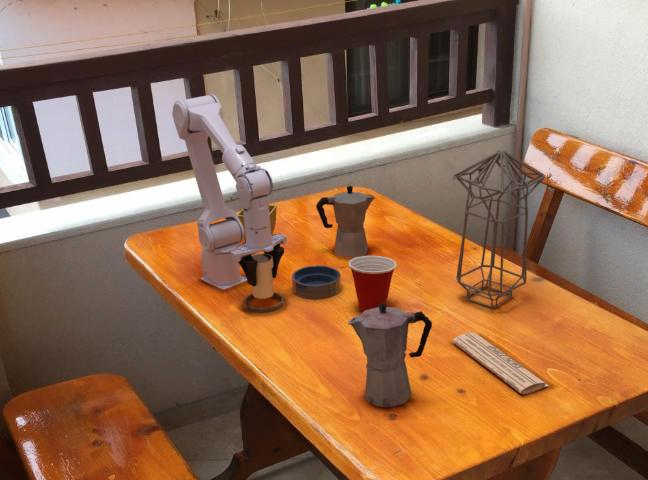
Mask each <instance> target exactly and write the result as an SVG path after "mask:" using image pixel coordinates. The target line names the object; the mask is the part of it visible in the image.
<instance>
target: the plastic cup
mask: <svg viewBox="0 0 648 480" xmlns="http://www.w3.org/2000/svg"><path fill="white" fill-rule="evenodd" d="M348 266H349V268H350V270H351V274H352V278H353V283H354V290H355V295H356V298H357V302H358V308H359V310H360V312H361V313H363V312H364V311H365V310H369V309H374V308H377V307H378V305H379V304H381V303H385V304H386V305H387V302H388V298H389V295H390V294H389V292H390V287H391V282H392V277H393V275H394V271H395V269H396V267H397V262H396V261H395V260H394V259H392V258H390V257H386V256H381V255H365V256H361V257H355V258H354V257H353V258H351V259H349V261H348Z"/></svg>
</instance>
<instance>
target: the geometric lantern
mask: <svg viewBox="0 0 648 480" xmlns="http://www.w3.org/2000/svg"><path fill="white" fill-rule="evenodd" d="M495 165H497V166H498V167H499V169H500V188H494V187H487V186H486V185H485V184H486V182H487V181H488V179H489V177H490V174H491V173H492V171H493V169H494V167H495ZM519 165H521V166H522V167H524V168H526V169H528V170H529V171H524V170H523V169H522V168H521V167H520V166H519ZM476 172H478V174H477V175H476V176H475V178H474V179H473V180H472V175H474V174H475V173H476ZM504 174H505V175H506V179H507V185H506V187H505V181H504ZM468 175H469V179H468V178H465V177H463V176H468ZM527 175H529V176H530V175H531V176H532V175H533V176H535V177H534V178H532V179H530V180H528V181H527V180H526V179H527ZM517 176H518V177H519V178H520V180H521V181H522V183H520V182H519V181H517V179H516V177H517ZM480 177H481V178H480ZM545 179H546V175H545V174H544V173H543V172H541V171H539V169H536V168H534V167H532V166H531V165H529V164H527V163H525V162H524V161H522V160H521V159H519V158H517V157H515V156H514V155H513V154H511V153H509V152H507V151H505V150H496V152H494V153H492V154H490V155H488V156H487V157H485V158H483V159H481V160H479V161H478V162H475V163H474V164H471V165H470V166H468V167H466V168H464V169H463V170H461V171H459V172H456V173H455V174H453V175H452V180H453V181H455V180H457V181H458V182H459V183H460V184H461V185H462V187H464V188H465V190H466V191H467V194H466V202H465V207H464V219H463V220H464V221H463V231H462V235H461V236H462V237H461V244H460V250H459V258H458V263H457V269H456V270H457V271H456V278H455V279H456V282H457V283H458V285H460V286H461V287H462V288H463V289H464V290H465V291H466V296H465V299H466V300H467V301H468V302H472V303H475V304H478V305H482V306H485V307H488V308H490V309H492V308H497V307H499V306H500V305H501V304H503V303H505V302H507V301H508V300H509V299H511V298H512V297H513V291H514V290H516V289H518V288H519V287H521V286H524V285H526V284H527V273H528V272H527V271H528V270H527V268H528V267H527V266H528V221H529V206H528V197H529V195H530V194H531V193H532V192H533V191H534V190H535V189H536V188H537V187H538V186H539V185H540V184H541V183H542V182H543V181H544V180H545ZM464 182H465V183H464ZM466 183H467V184H468V186H467V185H466ZM480 184H481V185H480ZM512 184H514V186H515V187H513V188H511V185H512ZM472 186H475V187H477V188H478V192H479V195H475V193H474V192H473V187H472ZM531 186H532V187H531ZM530 187H531V188H530ZM525 189H526V191H525ZM482 190H484V191H486V193H487V194H488V195H485V196H482V195H483V194H482ZM507 190H509V191H507ZM521 190H522V194H523V196H521V197H520V191H521ZM490 191H491V192H493V193H490ZM514 191H516V192H517V194H516V193H515V192H514ZM504 194H511V196H512V197H513V198H514V199H515V200H514V202H513V203H512V202H509V201H505V200H502V199H501V198H502V197H503V195H504ZM497 195H498V197H497V198H494V197H495V196H497ZM470 199H471V201H470ZM474 199H477V200H480V201H479V202H477V203H474V204H473V202H474ZM522 200H524V206H523V205H522V206H521V205H520V204H519V205H518V204H516V203H517V202H518V203H519V202H520V201H522ZM469 201H470V203H469ZM488 201H489V202H488ZM487 202H488V203H487ZM493 202H497V203H496V212H495V217H494V215H493V213H492V204H493ZM500 203H503V204H507V205H509V206H510V207H509V209H508V210H507V212H506V213H505V215H504V216H503V217H502V219H501V220H499V215H500V214H499V213H500ZM481 204H483V205H484V207H485V209H486V210H487V217H484V216H481V215H478V214H475V213H472V212H469V210H470V209H471V208H474V207H476V206H479V205H481ZM513 207H517V208H520V209H523V210H524V212H522V213H520V214H517V215H514V216H513V217H511V218H510V217H509V218H508V219H506V217H507V216H508V215H509V213H510V212H511V210H512V209H513ZM469 216H474V217H476V218H479V219H482V220H485V221H486V224H485V225H486V226H485V234H484V241H483V249H482V256H481V262H480V265H479V266H477V267H475V268H472V269H471V270H468V271H466V272H464V273H462V272H463V271H462V270H463V262H464V261H463V260H464V252H465V251H464V250H465V242H466V241H465V240H466V233H467V224H468V219H469ZM522 216H524V235H523V236H524V237H523V249H522V264H521V265H522V266H521V275H520V274H518V273H515V272H513V271H510V270H507V269H504V249H505V248H504V246H505V223H507V222H509V221H512V220H515V219H517V218H519V217H522ZM490 222H491V223H493V227H492V238H491V239H492V240H491V250H490V251H491V252H490V264H484V262H485V255H486V249H487V242H488V241H487V240H488V234H489V228H490V227H489V225H490ZM499 224H501V241H500V242H501V243H500V267H499V266H496V265H495V263H496V262H495V261H496V251H497V249H496V248H497V238H498V227H499V226H498V225H499ZM483 268H489V271H488V275H487V277H486V278H485V275H484V269H483ZM493 269H496V270H499V271H500V272H499V274H500V275H499V282H497V281H493V280H492V278H493ZM478 270H480V272H481V277H482V280H480V281H478V282H477V283H475V284H473V285H470V284H467V283H464V282H463V281H461V280H462V278H463V277H465V276H467V275H469V274H471V273H473V272H476V271H478ZM503 272H504V273H506V274H510V275H512V276H515V277H518V279H517V280H516V281H515V282H514V283H513V284H512V285H511V286H510V285H507V284H503V280H504V279H503V275H504V273H503ZM521 280H522V281H523V282H521V283H519V282H520V281H521ZM484 282H486V283H484ZM479 284H481V287H480V288H477V287H476V286H478V285H479ZM485 284H486V285H485ZM492 284H495V285H498V286H499V289H496V288H493V287H492ZM484 285H485V286H484ZM503 287H506V288H508V289H506V290H503ZM484 289H487V292H486V291H484ZM472 290H473V291H472ZM491 291H495V292H496V293H491ZM480 293H481V294H480ZM473 295H475V296H478V297H481V298H484V299H487V300H490V304H487V303H484V302H480V301H477V300H473V299H471V298H470V297H471V296H473ZM505 295H507V296H508V297H507V298H505V299H503V300H502V301H500V302H499V303H498V301H499V299H500V298H503V297H504V296H505ZM493 297H496V298H493ZM494 301H495V304H494V303H493V302H494Z"/></svg>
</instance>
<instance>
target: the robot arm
mask: <svg viewBox="0 0 648 480" xmlns="http://www.w3.org/2000/svg"><path fill="white" fill-rule="evenodd" d="M171 112H172V113H171V115H172V120H173V123H174V126H175V130H176V133H177V136H178V138H179V139H180V140H183V141H184V143H185V147H186V150H187V153H188V157H189V160H190V163H191V167H192V170H193V174H194V178H195V181H196V184H197V188H198V192H199V195H200V199H201V203H202V205H203V209H204V211H203V212H202V214H201V215H200V217H199V218H198V220H197V221H196V225H197V230H198V231H197V232H198V240H199V243H200V246H201V247H202V250H201V253H200V258H201V266H202V275H203V276H202V277H200V280H201V281H203V282H205V283H207V284H209V285H211V286H214V287H216V288H218V289H220V290H223V291H224V290H227V289H230V288H232V287H235V286H237V285H240V284H243V283H246V282H247V285H249V286H251V287H252V286H256V268H257V263H258V261H257V260H255V259H253V257H252V255H255V254H260V253H263V254H269V255H271V256H272V257H273V268H272V276H273V279H276V278H277V274H278V270H279V265H280V262H281V260H282V257H283V256H284V254H285V248H284V247H283V246H281V245H286V244H288V242H287V240H288V239H287V235H286V234H283V233H277V234H274V235H272V236H271V225H270V211H269V205H270V197H269V196H270V195H272V194H273V191H274V181H273V179H272V175H271V174H270V172H269V170H268V169H267V168H263V167H262V166H261V165H257V164H256V162H255V160H254V159H253V158H252V157H251V155H250V153H249V152H248V150H247V149H246V148H245V146H243V145H241V144H237V143H236V141H235V139H234V138H233V136H232V134H231V132H230V131H229V129H228V127H227V125H226V123H225V122H224V120H223V115H224V113H223V107H222V105H221V102H220V100H219V98H218V97H217V96H216V95H215V94H213V93H209V94H207V95H203V96H197V97H192V98H186V99H178V100H177V99H176V100H175V101H174V103H173V106H172V111H171ZM209 138H210V140H211V142H213V143H214V145H215V146H216V147H217V148H218V149H219V150H220V152H221V153H222V157H221V161H222V163H223V165H224V166H225V167H226V169H227V170H228V172H229V174H230V175H231V177H232V178H233V180H234V181H235V182H236V183H235V189H236V192H237V195H238V198H239V204H240V206H241V207H242V209H243V212H244V223H245V234H246V240H245V239H244V228H243V225H242V223H241V222H240V220H239V218H238V215H237V214H238V212H237V211H236V210H234V209H232V208H230V207H228V206H226V203H225V199H224V196H223V195H224V194H223V192H222V189H221V185H220V180H219V177H218V173H217V170H216V167H215V164H214V160H213V157H212V153H211V150H210V146H209V141H208V139H209ZM220 220H221V221H220ZM244 240H245V243H244V244H242V245H241V243H242V242H243V241H244ZM241 270H242V271H243V273H244V276H243V275H241Z"/></svg>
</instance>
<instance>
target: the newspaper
mask: <svg viewBox="0 0 648 480" xmlns="http://www.w3.org/2000/svg"><path fill="white" fill-rule="evenodd" d="M452 343H453V344H455V345H456V346H457V347H458V348H460V349H461V350H463V351H464V352H465V353H467V354H468V355H469V356H470V357H471V358H473V359H474V360H476V362H478V363H480V364H481V365H482V366H483V367H484V368H486V369H487V370H489V371H490V372H491V373H493V374H494V375H495V376H497V377H498V378H500V379H501V380H502V381H504V382H505V383H506V384H508V385H509V386H510V387H511V388H513V389H514V390H516V391H517V392H518V393H520V395H528V394H532V393H535V392H536V391H539V390H541V389H544V388H546V387H550V385H549V384H548V383H546V382H545V381H543V380H542V379H541V378H539V377H538V376H536V375H535V374H534V373H532V372H531V371H530V370H528V369H527V368H525V367H524V366H523V365H521V364H520V363H518V362H517V361H515V360H514V359H512V358H511V357H510V356H508V355H507V354H505V353H504V351H501V350H500V349H499V348H498V347H496V346H495V345H493V344H492V343H490V342H489V341H487V340H486V339H485V338H483V337H482V336H480V335H479V334H477V333H476V332H466V333H463V334H460V335H458V336H456V337H454V338H452Z"/></svg>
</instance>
